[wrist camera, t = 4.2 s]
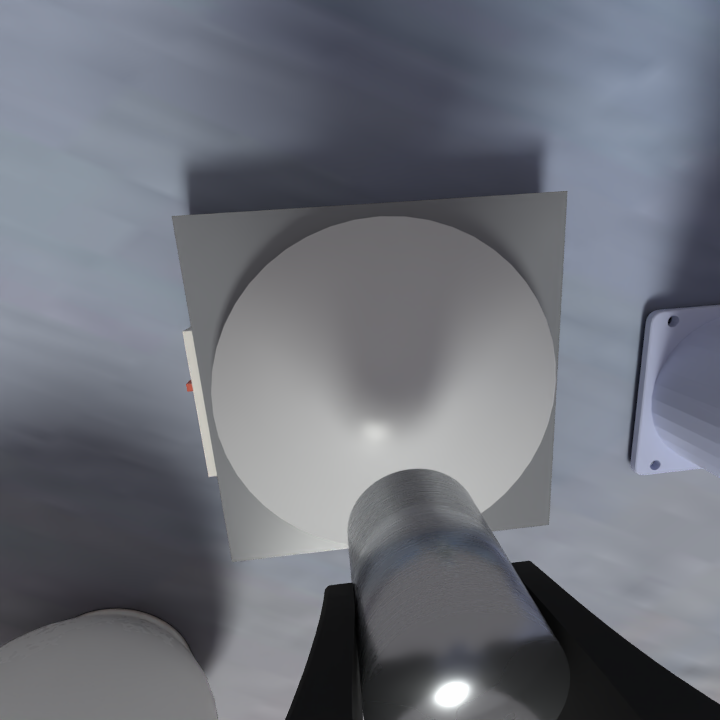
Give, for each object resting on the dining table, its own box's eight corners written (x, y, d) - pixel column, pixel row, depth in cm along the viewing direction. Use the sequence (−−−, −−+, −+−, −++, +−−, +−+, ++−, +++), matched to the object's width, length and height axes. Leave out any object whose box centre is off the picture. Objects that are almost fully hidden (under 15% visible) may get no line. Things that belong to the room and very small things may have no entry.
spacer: (483, 468, 12) (586, 606, 8) (469, 580, 13) (552, 766, 9) (349, 469, 12) (366, 616, 7) (345, 585, 13) (358, 781, 8)
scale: (539, 197, 17) (580, 187, 14) (527, 499, 21) (558, 536, 18) (172, 221, 16) (142, 215, 13) (227, 533, 20) (211, 578, 17)
